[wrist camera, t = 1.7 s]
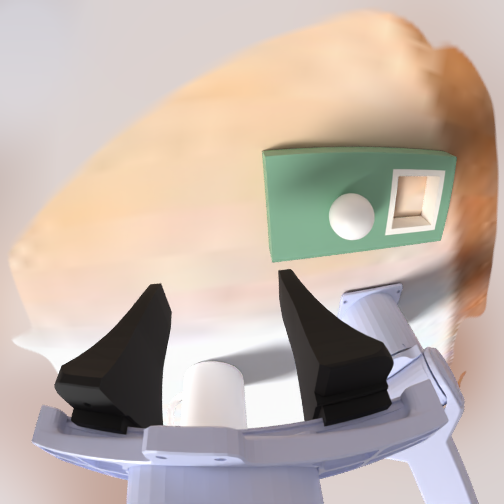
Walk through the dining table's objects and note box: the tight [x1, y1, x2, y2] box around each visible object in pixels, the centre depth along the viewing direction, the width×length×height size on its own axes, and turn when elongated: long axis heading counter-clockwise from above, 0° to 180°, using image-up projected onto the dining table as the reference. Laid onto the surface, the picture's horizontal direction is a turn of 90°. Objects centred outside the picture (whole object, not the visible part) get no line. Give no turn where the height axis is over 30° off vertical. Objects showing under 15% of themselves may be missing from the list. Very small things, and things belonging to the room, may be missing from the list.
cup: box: [167, 361, 247, 429], centre depth 32 cm, size 8×12×10 cm
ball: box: [329, 193, 375, 240], centre depth 19 cm, size 4×4×4 cm
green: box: [262, 147, 457, 262], centre depth 22 cm, size 9×18×2 cm, turn 95°
